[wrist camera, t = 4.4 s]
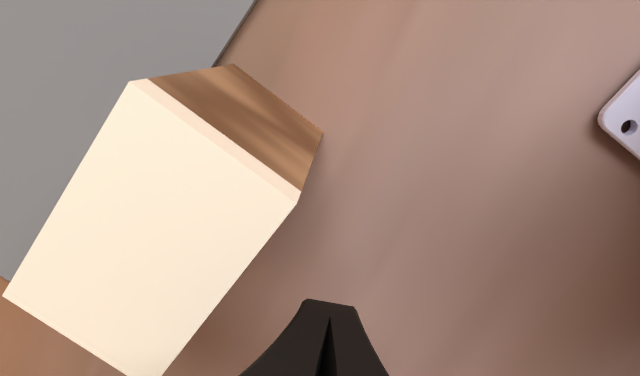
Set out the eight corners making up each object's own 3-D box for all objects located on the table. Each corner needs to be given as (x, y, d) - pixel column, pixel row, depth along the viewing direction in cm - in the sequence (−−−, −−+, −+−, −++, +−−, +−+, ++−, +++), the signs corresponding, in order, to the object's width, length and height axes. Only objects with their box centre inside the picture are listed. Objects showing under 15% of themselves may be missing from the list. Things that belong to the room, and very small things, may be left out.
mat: (342, -132, 14) (342, -137, 14) (59, 305, 20) (53, 310, 20) (34, -395, 13) (24, -408, 13) (-177, 152, 19) (-188, 154, 18)
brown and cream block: (323, 132, 17) (296, 203, 9) (234, 248, 19) (149, 390, 11) (233, 63, 16) (128, 81, 9) (150, 190, 18) (2, 295, 11)
